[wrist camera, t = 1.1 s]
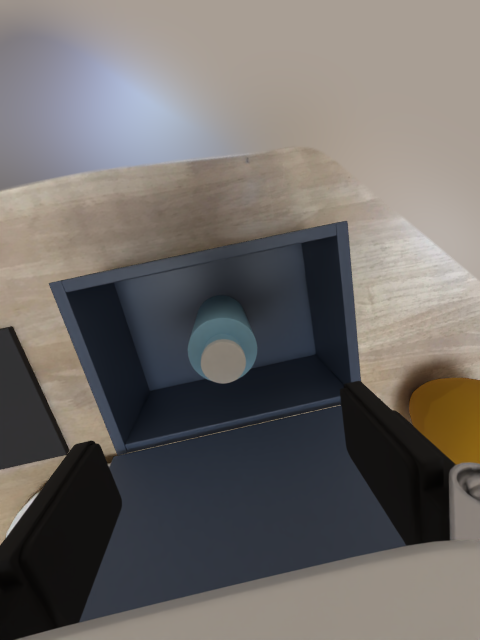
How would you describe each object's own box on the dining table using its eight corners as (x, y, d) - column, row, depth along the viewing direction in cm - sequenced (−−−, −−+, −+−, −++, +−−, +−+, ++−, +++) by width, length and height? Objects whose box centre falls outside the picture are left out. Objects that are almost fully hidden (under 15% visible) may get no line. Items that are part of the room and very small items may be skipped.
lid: (-86, 929, 7) (13, 946, 8) (654, 734, 7) (600, 789, 9) (113, 456, 20) (135, 501, 22) (365, 399, 21) (366, 447, 22)
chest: (104, 271, 25) (48, 283, 17) (305, 228, 26) (347, 220, 17) (146, 395, 29) (117, 455, 21) (321, 356, 30) (362, 400, 21)
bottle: (191, 300, 26) (175, 335, 16) (240, 290, 26) (254, 318, 16) (203, 346, 27) (194, 405, 17) (249, 336, 27) (267, 388, 17)
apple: (482, 372, 32) (627, 441, 21) (440, 439, 34) (551, 534, 23) (413, 348, 30) (530, 408, 19) (374, 419, 32) (458, 511, 21)
